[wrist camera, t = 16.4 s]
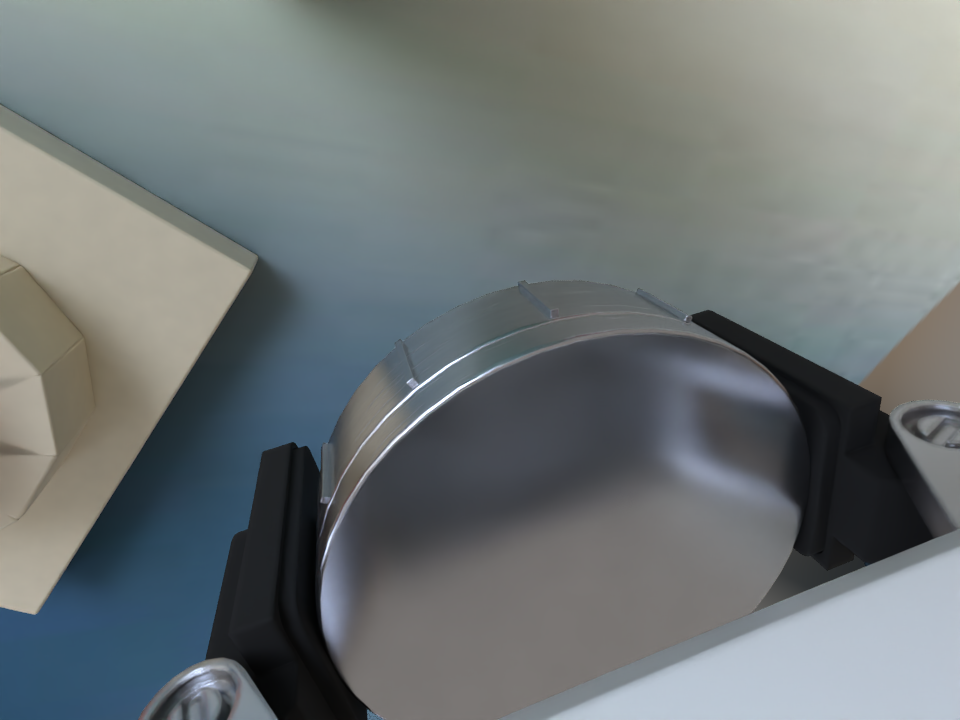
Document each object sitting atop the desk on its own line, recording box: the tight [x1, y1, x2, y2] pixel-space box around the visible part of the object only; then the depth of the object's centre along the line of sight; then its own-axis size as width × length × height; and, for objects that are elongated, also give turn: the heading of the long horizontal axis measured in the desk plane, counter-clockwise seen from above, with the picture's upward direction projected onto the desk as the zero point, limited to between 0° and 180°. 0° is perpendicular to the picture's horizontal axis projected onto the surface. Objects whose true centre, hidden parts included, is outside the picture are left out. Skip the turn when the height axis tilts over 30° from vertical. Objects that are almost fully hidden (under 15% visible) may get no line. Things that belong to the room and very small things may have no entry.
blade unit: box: [315, 280, 811, 720], centre depth 9 cm, size 8×8×2 cm
